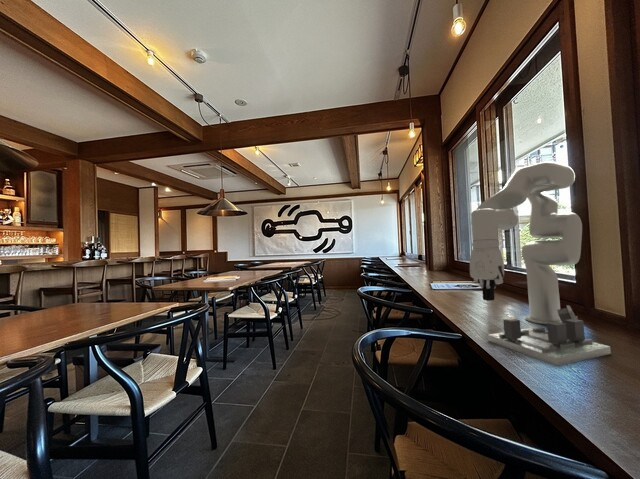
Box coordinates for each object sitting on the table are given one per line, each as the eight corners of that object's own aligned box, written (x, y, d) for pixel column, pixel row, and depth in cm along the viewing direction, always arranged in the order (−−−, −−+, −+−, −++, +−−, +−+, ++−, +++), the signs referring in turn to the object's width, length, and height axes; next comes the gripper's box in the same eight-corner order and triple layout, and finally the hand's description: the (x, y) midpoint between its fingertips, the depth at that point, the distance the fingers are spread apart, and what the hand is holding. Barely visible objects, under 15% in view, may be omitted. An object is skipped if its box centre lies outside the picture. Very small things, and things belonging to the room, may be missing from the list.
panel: (534, 332, 96) (533, 324, 96) (610, 353, 76) (609, 342, 76) (488, 340, 91) (487, 331, 91) (557, 365, 71) (556, 353, 71)
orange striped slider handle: (513, 335, 87) (511, 317, 87) (521, 338, 85) (519, 319, 85) (504, 337, 86) (503, 318, 87) (512, 339, 84) (510, 320, 84)
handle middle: (557, 340, 81) (555, 321, 81) (567, 343, 79) (565, 323, 79) (548, 342, 80) (547, 322, 81) (558, 344, 78) (556, 325, 78)
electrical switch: (585, 340, 87) (578, 310, 88) (563, 339, 90) (557, 310, 91) (581, 332, 94) (576, 305, 95) (562, 331, 97) (556, 305, 98)
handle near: (574, 337, 83) (573, 318, 83) (584, 339, 81) (583, 320, 81) (566, 338, 82) (564, 320, 82) (576, 341, 80) (574, 322, 80)
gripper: (459, 246, 100) (462, 297, 99) (495, 245, 85) (499, 304, 85) (476, 245, 102) (479, 296, 101) (514, 244, 87) (518, 302, 87)
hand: (488, 299), depth 93 cm, fingers closed
